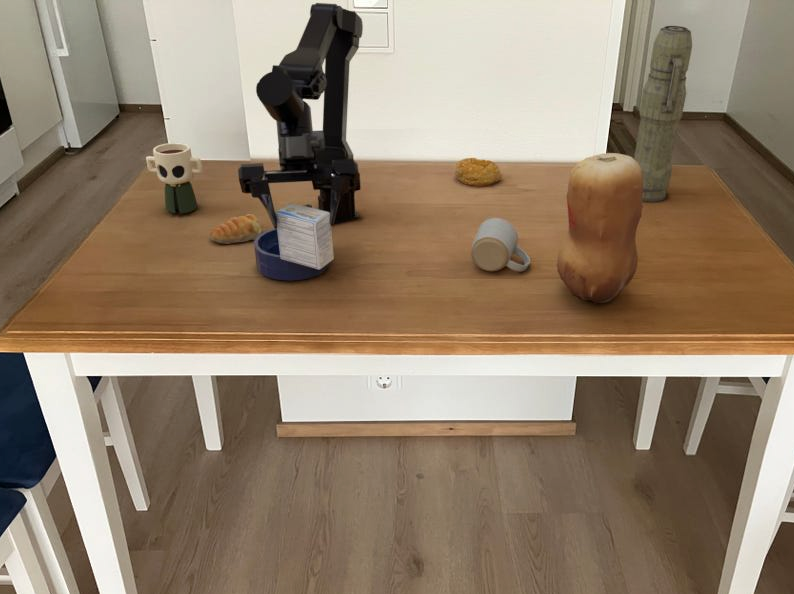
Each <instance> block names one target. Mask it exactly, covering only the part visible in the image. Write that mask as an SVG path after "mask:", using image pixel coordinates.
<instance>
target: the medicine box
mask: <svg viewBox="0 0 794 594" xmlns="http://www.w3.org/2000/svg"><path fill="white" fill-rule="evenodd" d="M275 214H276V220H277V231H278V240H279V248H280V257H281V259H283V260H287V261H290V262H294V263H298V264H301V265H305V266H308V267H312V268H315V269H319V270H320V269H321V268H323V267H324V266H325V265H327V264H328V263H329V262H330V263H331V262H333V260H334V259H335V255H334V243H333V242H334V241H333V232H332V230H333V229H332V226H331V220H330V213H329V212H326V211H322V210H319V208H318V209H317V208H314V207H312V208H311V207H306V206H303V205H302V204H298V203H294V202H290V203H289V204H286V205H284V206H283V207H281V208H280V209H278V210H277V211H275Z"/></svg>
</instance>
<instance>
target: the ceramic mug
mask: <svg viewBox="0 0 794 594" xmlns="http://www.w3.org/2000/svg"><path fill="white" fill-rule="evenodd" d="M518 243H519V236H518V232H517V230H516V228H515V226H514V225H512V223H510V222H509V221H507V220H506V219H504V218H499V217H492V218H488V219H486V220H484V221H483V222H482V223H481V224H480V225H479V227H478V230H477V232H476V235H475V237H474V240H473V241H472V244H471V250H470V252H471V253H470V254H471V258H472V261H473V263H474V264H475V265H476V266H477V267H478V268H479V269H481V270H483V271H484V272H485V271H486V272H497V271H501V270H502V269H503V268H505V267H507V269H510V270H512V271H514V272H525V271H526V270H527V269H528V267H529V266H530V264H531V258H530V255H529V254H528V253H527V252H526V251H525V250H524V249H522V248H521V247H520V246H518ZM514 254H515V255H516V256H517V257H519V258H520V259H521V261H523V263H524V264H521V263H517V262H515V261H514V260H511V259H512V256H513V255H514Z"/></svg>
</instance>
